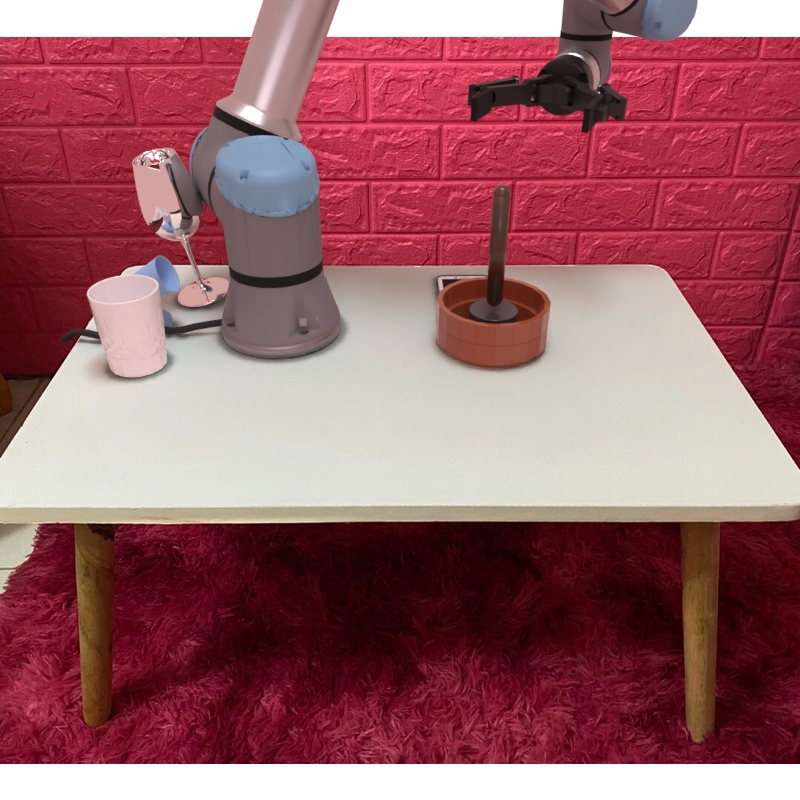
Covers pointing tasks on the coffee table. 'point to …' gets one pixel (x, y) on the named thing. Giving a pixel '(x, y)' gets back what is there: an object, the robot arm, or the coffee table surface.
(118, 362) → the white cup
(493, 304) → the peg on round base
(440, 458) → the coffee table surface
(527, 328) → the bowl
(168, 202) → the wineglass
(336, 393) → the coffee table surface
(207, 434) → the coffee table surface
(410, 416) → the coffee table surface
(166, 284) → the spotlight
